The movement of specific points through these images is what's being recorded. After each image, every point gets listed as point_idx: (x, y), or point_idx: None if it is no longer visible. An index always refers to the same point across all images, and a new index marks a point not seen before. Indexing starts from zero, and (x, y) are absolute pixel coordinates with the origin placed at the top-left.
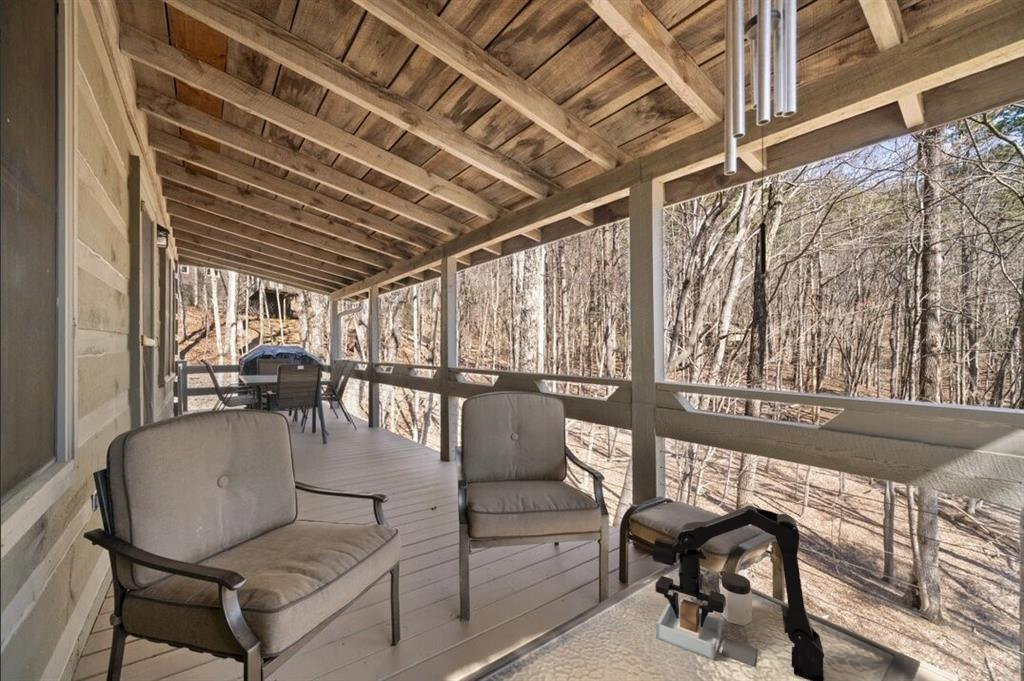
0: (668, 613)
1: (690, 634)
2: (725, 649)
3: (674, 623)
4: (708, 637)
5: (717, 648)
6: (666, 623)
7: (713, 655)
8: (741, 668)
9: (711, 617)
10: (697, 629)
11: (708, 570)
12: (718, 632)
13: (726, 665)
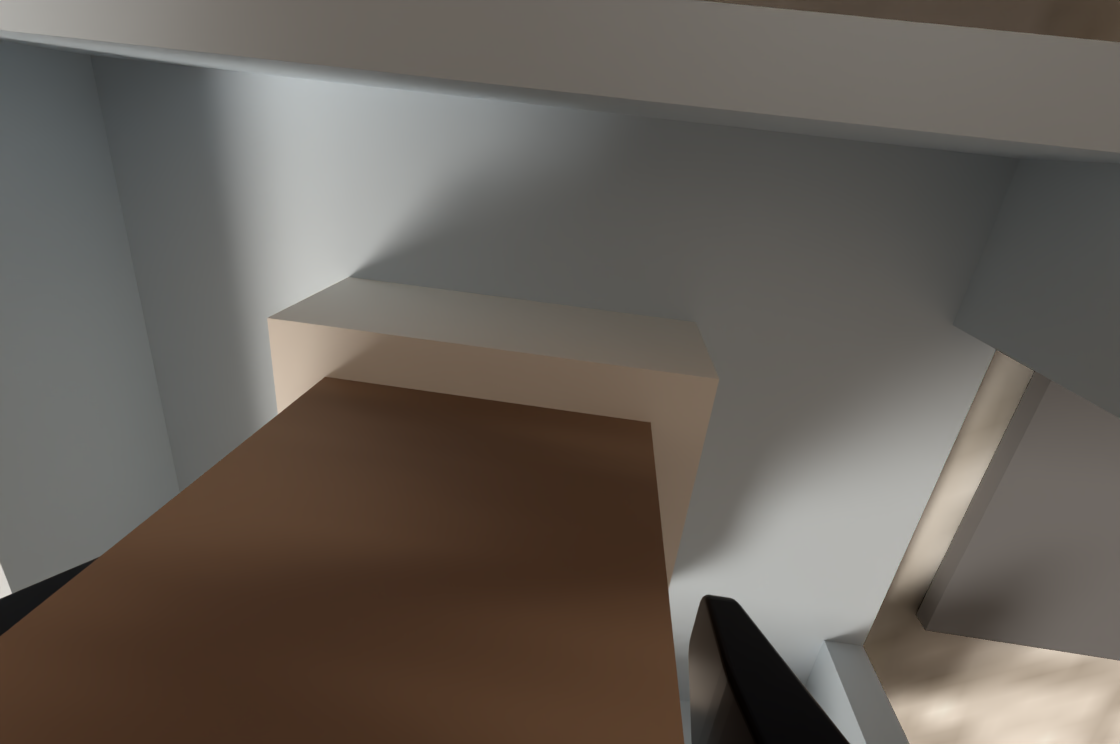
0: (22, 240)
1: None
2: (1007, 551)
3: (246, 292)
4: (786, 411)
5: (888, 569)
6: (154, 355)
7: None
8: (1110, 731)
9: (1044, 107)
10: None
11: None
12: (1024, 360)
13: (937, 738)
